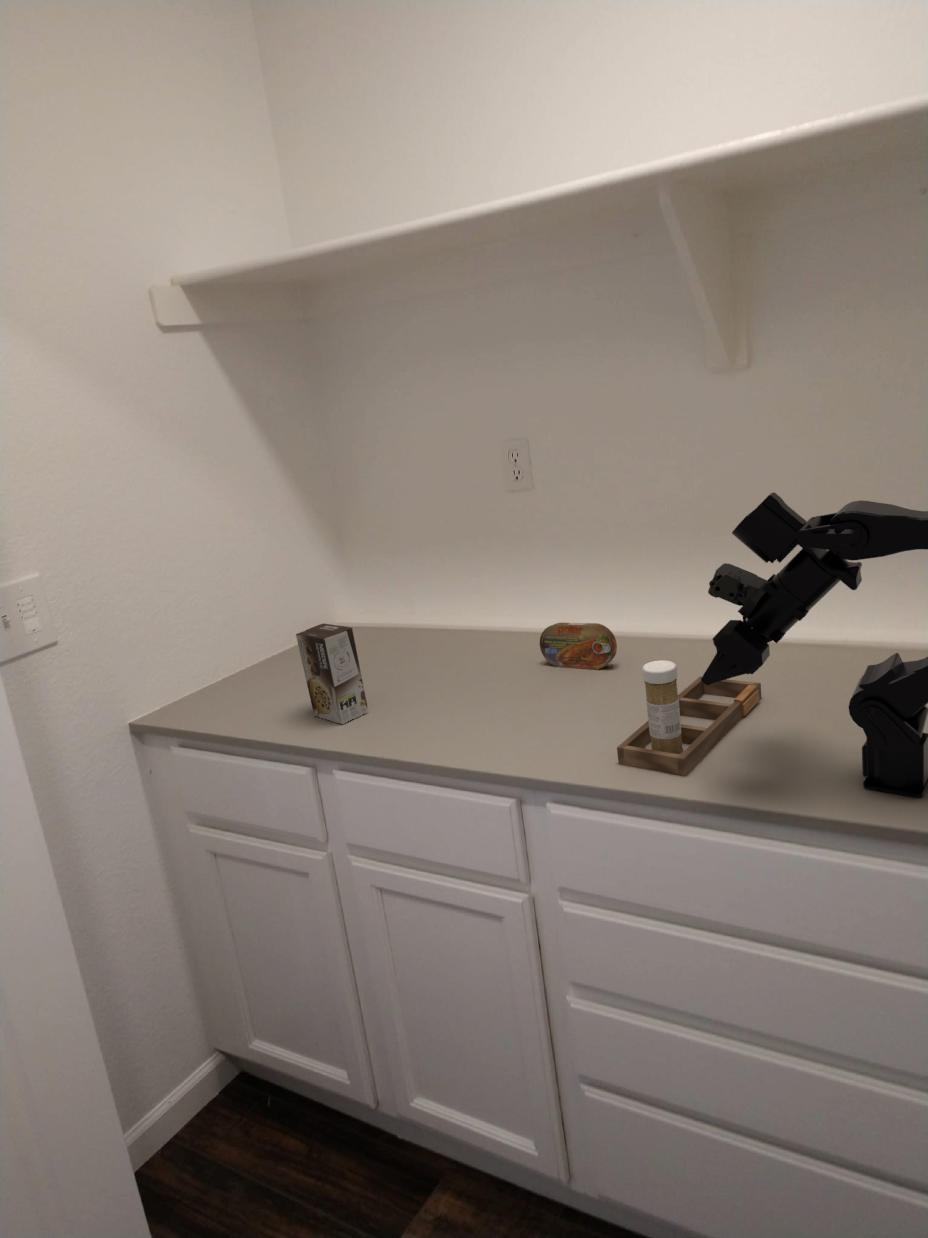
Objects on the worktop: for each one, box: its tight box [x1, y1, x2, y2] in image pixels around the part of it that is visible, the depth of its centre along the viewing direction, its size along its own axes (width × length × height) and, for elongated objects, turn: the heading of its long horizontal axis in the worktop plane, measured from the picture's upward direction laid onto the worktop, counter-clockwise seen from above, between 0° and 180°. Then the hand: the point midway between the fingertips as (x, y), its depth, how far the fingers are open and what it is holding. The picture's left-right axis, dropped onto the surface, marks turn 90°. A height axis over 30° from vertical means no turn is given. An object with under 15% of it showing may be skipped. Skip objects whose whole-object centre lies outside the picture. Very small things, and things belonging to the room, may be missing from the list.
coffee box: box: [295, 623, 369, 725], centre depth 152 cm, size 9×6×16 cm
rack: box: [616, 676, 762, 777], centre depth 126 cm, size 10×28×3 cm, turn 141°
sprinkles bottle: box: [642, 660, 685, 755], centre depth 118 cm, size 5×5×14 cm
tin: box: [539, 622, 618, 670], centre depth 158 cm, size 15×3×8 cm, turn 56°
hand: (714, 669), depth 112 cm, fingers open, 9 cm apart
